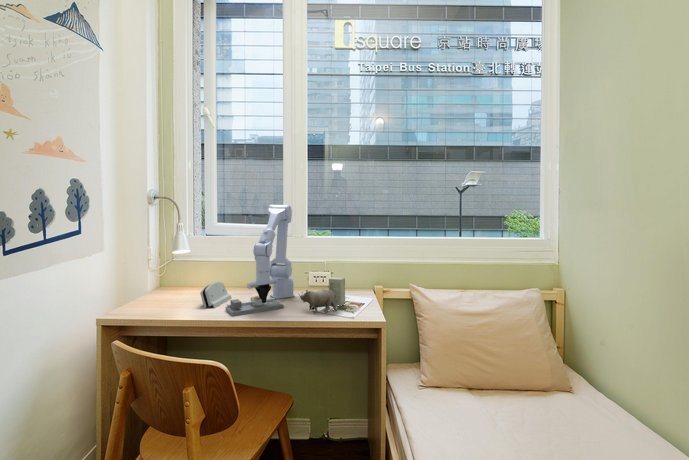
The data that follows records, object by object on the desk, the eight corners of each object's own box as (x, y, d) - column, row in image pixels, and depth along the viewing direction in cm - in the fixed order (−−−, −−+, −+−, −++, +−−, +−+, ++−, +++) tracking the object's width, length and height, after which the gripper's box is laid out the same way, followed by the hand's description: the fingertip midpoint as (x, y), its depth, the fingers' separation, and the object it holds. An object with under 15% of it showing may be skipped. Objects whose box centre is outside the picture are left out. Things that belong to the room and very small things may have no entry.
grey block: (257, 302, 161) (257, 295, 160) (261, 305, 157) (261, 297, 156) (250, 303, 159) (250, 295, 159) (254, 306, 155) (254, 298, 155)
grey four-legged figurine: (341, 309, 151) (320, 278, 152) (314, 327, 152) (293, 297, 153) (343, 305, 158) (324, 276, 159) (317, 323, 159) (298, 294, 161)
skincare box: (345, 304, 166) (345, 277, 165) (341, 307, 162) (341, 279, 161) (332, 303, 169) (332, 276, 168) (328, 305, 165) (328, 278, 164)
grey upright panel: (214, 308, 158) (206, 286, 158) (205, 311, 159) (197, 289, 159) (232, 298, 175) (225, 278, 175) (223, 301, 176) (216, 281, 175)
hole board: (274, 303, 168) (274, 292, 167) (283, 307, 160) (283, 297, 160) (225, 310, 155) (225, 299, 155) (232, 316, 148) (232, 304, 147)
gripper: (271, 267, 167) (271, 297, 168) (242, 272, 156) (243, 303, 157) (281, 269, 162) (281, 300, 163) (252, 274, 151) (252, 307, 152)
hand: (263, 302), depth 160 cm, fingers closed
